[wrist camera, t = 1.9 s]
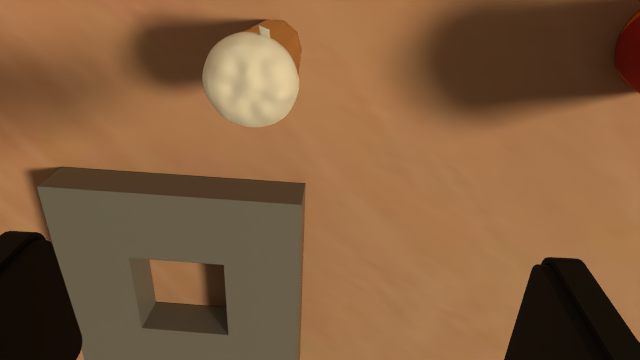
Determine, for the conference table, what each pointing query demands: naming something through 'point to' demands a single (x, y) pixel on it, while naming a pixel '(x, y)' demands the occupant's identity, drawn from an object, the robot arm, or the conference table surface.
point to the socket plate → (184, 246)
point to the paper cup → (629, 53)
